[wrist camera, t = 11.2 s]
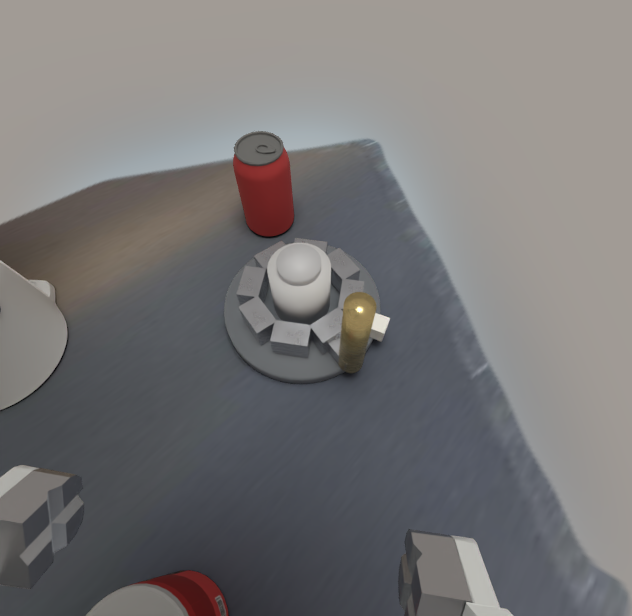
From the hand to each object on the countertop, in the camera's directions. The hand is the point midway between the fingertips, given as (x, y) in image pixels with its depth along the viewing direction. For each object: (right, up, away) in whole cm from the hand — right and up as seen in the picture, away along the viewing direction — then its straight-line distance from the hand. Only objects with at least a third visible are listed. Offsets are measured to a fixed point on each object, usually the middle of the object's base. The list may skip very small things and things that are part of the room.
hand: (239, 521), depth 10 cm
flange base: (0, +5, +37) cm, 37 cm away
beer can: (-4, +17, +45) cm, 48 cm away
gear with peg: (+1, +5, +34) cm, 35 cm away
